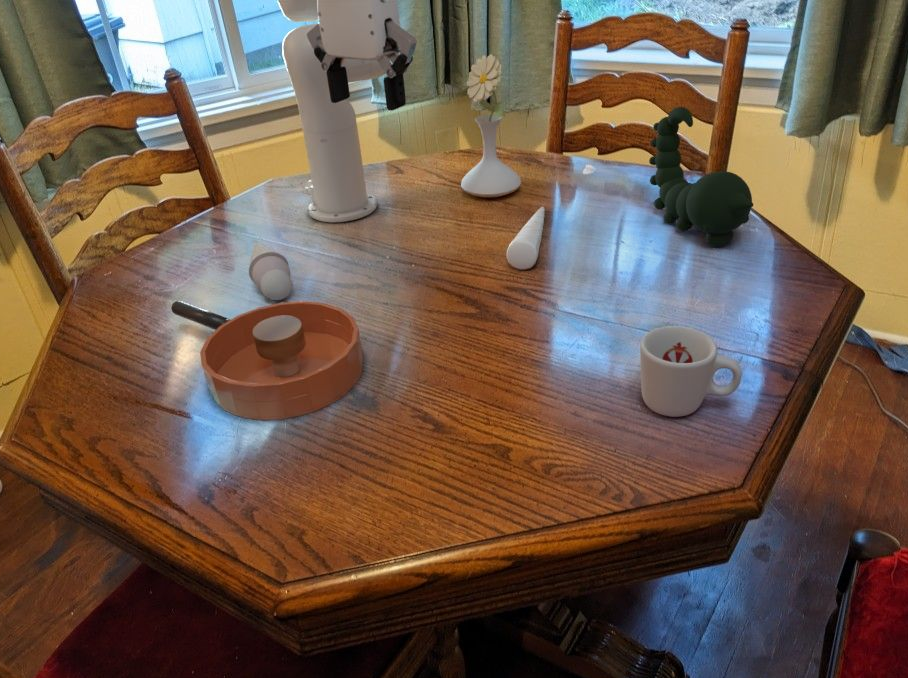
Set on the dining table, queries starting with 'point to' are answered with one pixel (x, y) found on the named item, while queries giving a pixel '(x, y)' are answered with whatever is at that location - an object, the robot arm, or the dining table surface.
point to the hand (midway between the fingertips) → (368, 103)
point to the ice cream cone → (270, 272)
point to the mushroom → (280, 343)
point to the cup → (681, 370)
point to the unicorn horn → (527, 242)
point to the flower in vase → (488, 135)
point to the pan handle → (198, 315)
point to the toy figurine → (696, 188)
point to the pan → (253, 378)
